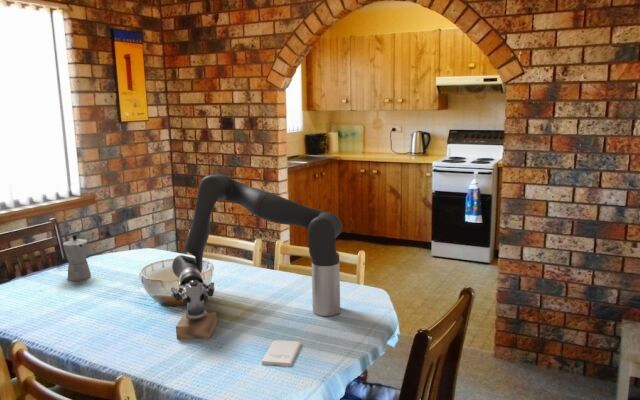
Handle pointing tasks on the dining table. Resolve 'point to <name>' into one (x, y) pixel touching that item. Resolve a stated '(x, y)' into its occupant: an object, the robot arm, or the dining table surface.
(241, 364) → the dining table surface
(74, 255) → the coffeepot
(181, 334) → the stand
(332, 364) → the dining table surface
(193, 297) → the cylinder
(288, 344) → the external hard drive
